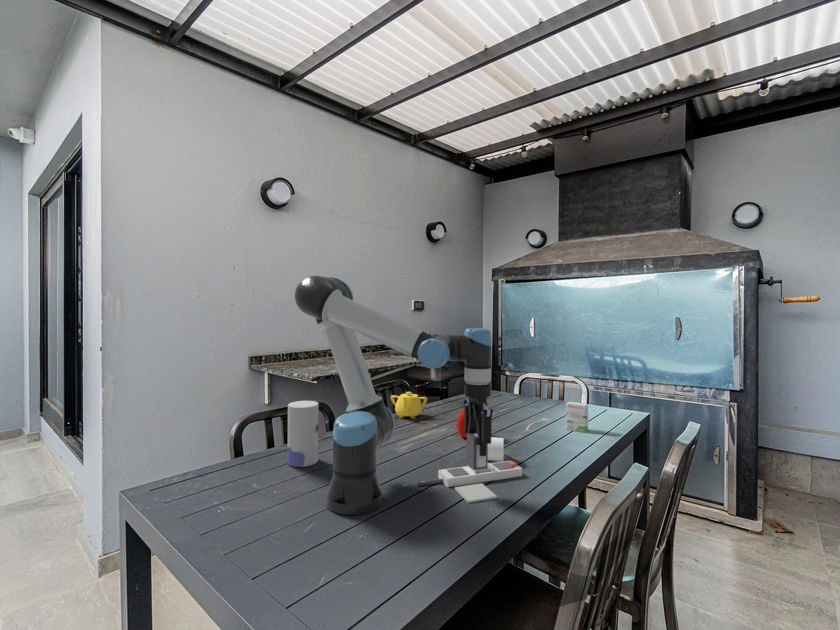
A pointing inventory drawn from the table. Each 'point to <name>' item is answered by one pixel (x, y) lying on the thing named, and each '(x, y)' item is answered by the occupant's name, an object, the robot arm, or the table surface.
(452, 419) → the table surface
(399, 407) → the yellow handled pot
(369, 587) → the table surface
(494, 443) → the mug
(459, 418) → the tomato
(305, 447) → the container
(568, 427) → the ink box
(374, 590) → the table surface
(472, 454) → the block
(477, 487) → the felt pad
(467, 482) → the power strip
